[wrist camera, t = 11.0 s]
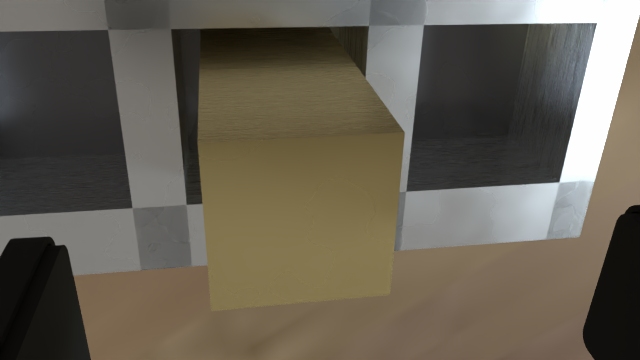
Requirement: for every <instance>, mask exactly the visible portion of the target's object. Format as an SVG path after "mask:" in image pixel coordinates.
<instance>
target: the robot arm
mask: <svg viewBox="0 0 640 360" xmlns="http://www.w3.org/2000/svg"><path fill="white" fill-rule="evenodd" d="M583 339H584V343H585V346H586V348H587V350H588V351H589V353H590V354H591V355H592V357H593V358H594V359H595V360H640V205H634V206H631V207H629V208H628V209H627V210H626V212H625V214H623V215H621V216H620V217H619V218H618V220H617V222H616V225H615V228H614V231H613V234H612V238H611V241H610V244H609V247H608V251H607V254H606V257H605V260H604V264H603V267H602V270H601V273H600V276H599V280H598V283H597V286H596V289H595V293H594V296H593V299H592V302H591V306H590V309H589V312H588V315H587V318H586V322H585V325H584V329H583ZM0 360H91V358H90V353H89V349H88V344H87V339H86V334H85V329H84V325H83V320H82V315H81V310H80V305H79V301H78V296H77V291H76V286H75V281H74V277H73V272H72V267H71V262H70V257H69V253H68V249H67V247H66V246H65V245H55V242H54V240H53V238H51V237H50V236H48V237H29V238H13V239H10V240H9V242H8V243H7V245H6V247H5V248H4V250H3V252H2V254H1V256H0Z"/></svg>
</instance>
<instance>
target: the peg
mask: <svg viewBox="0 0 640 360" xmlns="http://www.w3.org/2000/svg"><path fill="white" fill-rule="evenodd" d="M404 138H405V132H404V130H403V129H402V128H401V126H400V125H399V124H398V122H397V121H396V119H395V118H394V117H393V115H392V114H391V113H390V111H389V110H388V108H387V107H386V106H385V104H384V103H383V102H382V100H381V99H380V97H379V96H378V95H377V93H376V92H375V91H374V89H373V88H372V86H371V85H370V84H369V82H368V81H367V80H366V78H365V77H364V75H363V74H362V73H361V71H360V70H359V68H358V67H357V66H356V64H355V63H354V62H353V60H352V59H351V57H350V56H349V55H348V53H347V52H346V51H345V49H344V48H343V46H342V45H341V44H340V42H339V41H338V40H337V38H336V37H335V35H334V34H333V33H332V31H331V30H330V29H329V27H270V28H204V29H200V64H199V105H198V154H199V166H200V179H201V191H202V203H203V216H204V228H205V240H206V252H207V265H208V277H209V289H210V302H211V311H217V310H228V309H239V308H250V307H261V306H271V305H282V304H293V303H304V302H315V301H325V300H336V299H347V298H358V297H369V296H380V295H390V287H391V277H392V266H393V255H394V245H395V234H396V223H397V213H398V202H399V191H400V180H401V170H402V159H403V148H404Z"/></svg>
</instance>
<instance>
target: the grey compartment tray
mask: <svg viewBox="0 0 640 360" xmlns="http://www.w3.org/2000/svg"><path fill="white" fill-rule="evenodd" d="M639 13H640V0H0V256H1V254H2V252H3V250H4V248H5V247H6V245H7V243H8V242H9V240H10V239H13V238H29V237H48V236H50V237H51V238H53V240H54V242H55V245H65V246H66V247H67V249H68V253H69V257H70V262H71V267H72V272H73V275H84V274H97V273H110V272H123V271H136V270H149V269H162V268H175V267H189V266H202V265H207V252H206V240H205V228H204V216H203V203H202V191H201V179H200V166H199V154H198V105H199V64H200V29H204V28H270V27H329V29H330V30H331V31H332V33H333V34H334V35H335V37H336V38H337V40H338V41H339V42H340V44H341V45H342V46H343V48H344V49H345V51H346V52H347V53H348V55H349V56H350V57H351V59H352V60H353V62H354V63H355V64H356V66H357V67H358V68H359V70H360V71H361V73H362V74H363V75H364V77H365V78H366V80H367V81H368V82H369V84H370V85H371V86H372V88H373V89H374V91H375V92H376V93H377V95H378V96H379V97H380V99H381V100H382V102H383V103H384V104H385V106H386V107H387V108H388V110H389V111H390V113H391V114H392V115H393V117H394V118H395V119H396V121H397V122H398V124H399V125H400V126H401V128H402V129H403V130H404V132H405V138H404V148H403V159H402V170H401V180H400V191H399V202H398V213H397V223H396V234H395V245H394V251H399V250H412V249H425V248H438V247H451V246H464V245H477V244H490V243H504V242H517V241H530V240H543V239H556V238H569V237H579V236H580V233H581V229H582V225H583V222H584V218H585V214H586V210H587V207H588V203H589V199H590V196H591V192H592V188H593V184H594V181H595V177H596V173H597V169H598V166H599V162H600V158H601V155H602V151H603V147H604V143H605V140H606V136H607V132H608V128H609V125H610V121H611V117H612V114H613V110H614V106H615V102H616V99H617V95H618V91H619V88H620V84H621V80H622V76H623V73H624V69H625V65H626V61H627V58H628V54H629V50H630V47H631V43H632V39H633V35H634V32H635V28H636V24H637V21H638V17H639Z"/></svg>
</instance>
